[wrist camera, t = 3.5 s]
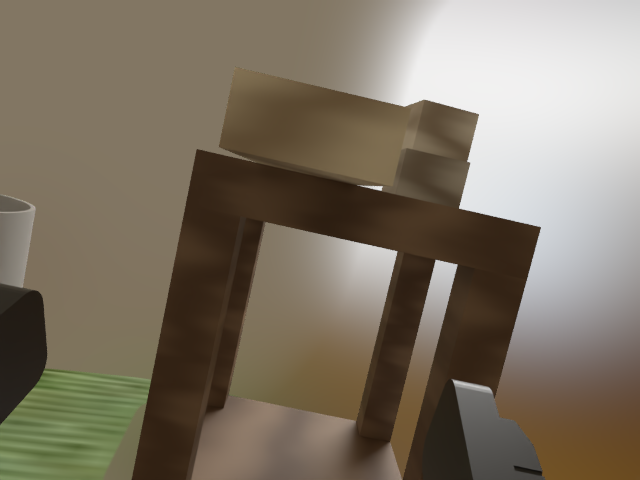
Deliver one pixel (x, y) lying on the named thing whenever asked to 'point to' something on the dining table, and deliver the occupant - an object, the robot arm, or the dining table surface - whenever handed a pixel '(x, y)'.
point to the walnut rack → (391, 344)
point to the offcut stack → (435, 154)
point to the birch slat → (313, 129)
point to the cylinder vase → (14, 239)
